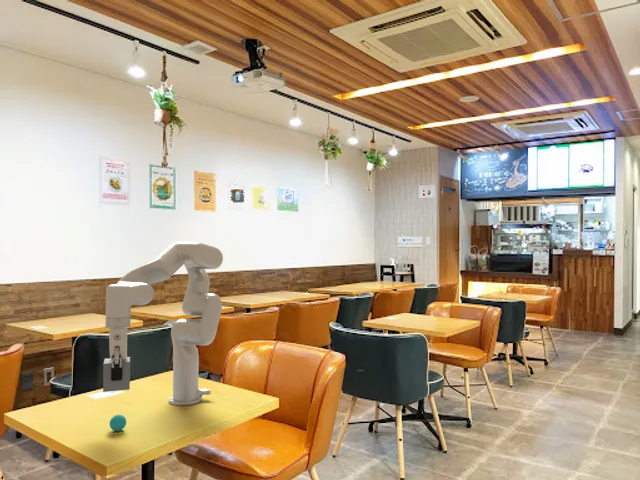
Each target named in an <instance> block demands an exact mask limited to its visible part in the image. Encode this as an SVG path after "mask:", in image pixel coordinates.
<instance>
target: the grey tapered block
mask: <svg viewBox="0 0 640 480" xmlns="http://www.w3.org/2000/svg"><path fill="white" fill-rule="evenodd" d="M102 365H103V367H102V368H103V369H102V370H103V372H102V374H103V375H102V376H103V377H102V378H103V380H102V381H103V382H102V383H103V384H102V385H103V388H102V392H103V393H106V392H117V391H118V392H119V391H128V390H130V388H131V385H130V383H131V381H130V380H131V370H130V369H131V356H127V358H126V359H124V358H122V380H118V381H111V368H112V360H111V359H110V357H109V358H104V360H103V364H102Z"/></svg>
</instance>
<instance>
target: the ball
mask: <svg viewBox="0 0 640 480" xmlns="http://www.w3.org/2000/svg"><path fill="white" fill-rule="evenodd" d="M126 426H127V418H126V417H125V416H124V415H123V414H116V415H113V416H112V417H111V418H110V420H109V428H110V429H111V430H112V431H114V432H120V431H122V430H123V429H124V428H125V427H126Z"/></svg>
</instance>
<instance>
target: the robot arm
mask: <svg viewBox="0 0 640 480" xmlns="http://www.w3.org/2000/svg"><path fill="white" fill-rule="evenodd" d="M223 260H224V256H223V253H222V252H221V250H220V249H219V248H218V247H215V246H212V245H210V244H209V245H208V244H206V243H202V242H198V241H175V242H173V243H171V244H170V245H169V246H168V247H167V248H165V250H163V252H161V253H160V254H159V255H158V256H157V257H156V258H155V259H154V260H152V261H150V262H148V263H145V264H144V265H141V266H139V267H137V268H135V269H132V270H130V271H129V272H127V273H126V274H125V275H123V276H122V277H121V278H120V279H119V280H118V281H117V282H116V283H114V284H113V283H112V284H109V285H107V287H106V289H105V325H104V326H105V329H109V331H108V332H109V335H108V337H109V339H108V340H109V341H108V343H109V345H108V347H109V358H110V359H111V360H112V368H111V381H118V380H122V358H124V359H126V358H127V357H128V328H131V315H132V313H131V312H132V311H131V308H132V305H134V306H135V305H136V306H144V305H147V304H149V303H150V302H152V300H153V298H154V297H155V290H154V287H152V284H155V283H161V282H164V281H167V280H169V279H170V278H171V277H172V276H173V275H175V273H177V271H178V270H179V269H180V268H182V267H183V266H184V267H185V269H186V272H187V275H188V280H187V281H188V282H187V286H186V290H185V292H184V293H185V294H184V297H183V300H182V305H181V309H182V312H183V313H184V314H185V315H186V316H189V317H196V318H197V317H198V318H201V319H196V318H180V319H178V320H177V319H176V320H175V321H174V323H172V325H171V328H170V329H171V330H170V336H171V341H172V349H173V351H172V352H173V356H172V357H173V359H172V360H173V363H172V364H173V365H172V366H173V367H172V370H173V371H172V372H173V373H172V396H169V398H168V403H169V404H170V405H173V406H190V405H196V404H199V403H200V402H201V401H202V400H203V396H210V395H211V393H212V392H211V389H207V388H200V387H199V364H200V363H199V360H200V356H199V351H198V348H197V346H209V345H210V344H212V343H213V342H214V340H215V338H216V335H217V331H218V327H219V323H220V319H221V314H222V310H223V303H222V299H221V297H220V296H219V295H218V294H217V293H213V292H212V293H211V292H209V290H210V286H211V281H210V277H209V276H210V275H208V272H207V271H206V270H215V269H218V268H220V267H221V265H222V264H223Z"/></svg>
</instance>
